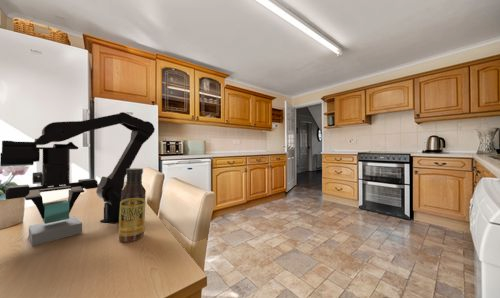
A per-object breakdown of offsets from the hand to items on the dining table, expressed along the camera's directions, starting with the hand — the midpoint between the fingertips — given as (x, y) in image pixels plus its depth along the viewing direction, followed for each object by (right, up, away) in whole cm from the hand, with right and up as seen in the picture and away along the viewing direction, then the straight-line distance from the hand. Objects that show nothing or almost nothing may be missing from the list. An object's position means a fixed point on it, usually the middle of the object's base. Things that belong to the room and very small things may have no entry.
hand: (56, 216), depth 56 cm
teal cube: (0, -1, 0) cm, 1 cm away
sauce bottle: (+25, -6, -3) cm, 26 cm away
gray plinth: (0, -6, 0) cm, 6 cm away
